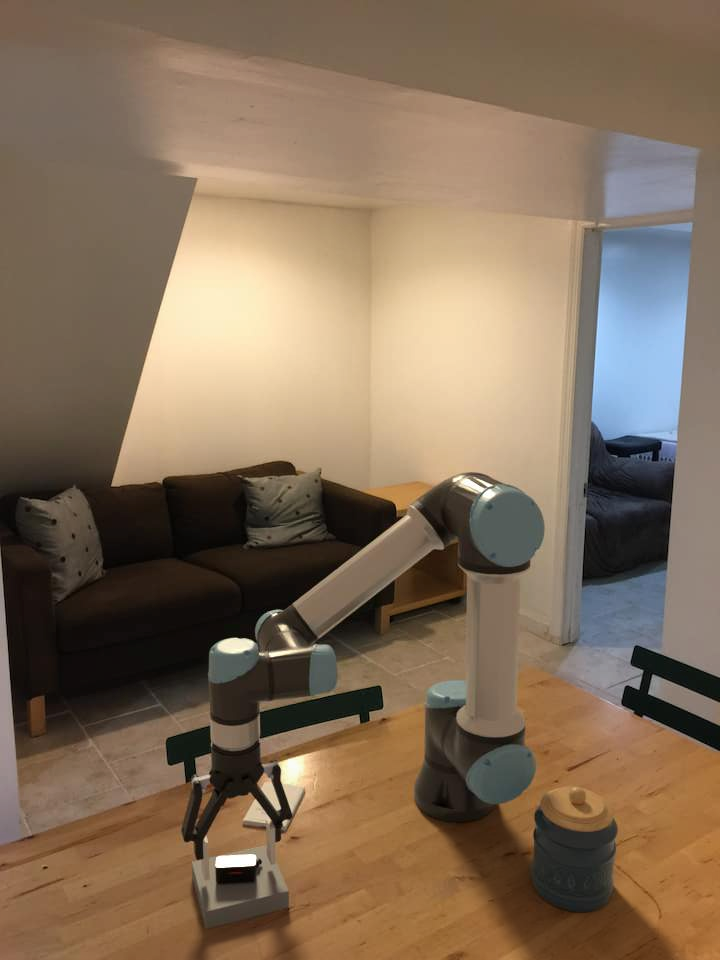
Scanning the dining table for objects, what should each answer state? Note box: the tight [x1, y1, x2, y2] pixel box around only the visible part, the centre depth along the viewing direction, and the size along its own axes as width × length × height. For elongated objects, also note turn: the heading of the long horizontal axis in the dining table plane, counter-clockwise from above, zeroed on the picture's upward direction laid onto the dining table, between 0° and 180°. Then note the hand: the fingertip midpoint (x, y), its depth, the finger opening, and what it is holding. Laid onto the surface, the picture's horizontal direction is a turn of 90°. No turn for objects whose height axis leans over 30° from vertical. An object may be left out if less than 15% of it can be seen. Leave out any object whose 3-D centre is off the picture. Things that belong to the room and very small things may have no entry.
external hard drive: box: [242, 781, 306, 832], centre depth 154 cm, size 2×8×12 cm
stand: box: [191, 844, 290, 930], centre depth 131 cm, size 13×12×3 cm
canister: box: [530, 786, 619, 913], centre depth 132 cm, size 13×13×18 cm
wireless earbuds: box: [215, 854, 262, 884], centre depth 131 cm, size 5×7×3 cm, turn 95°
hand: (238, 866), depth 130 cm, fingers open, 10 cm apart
